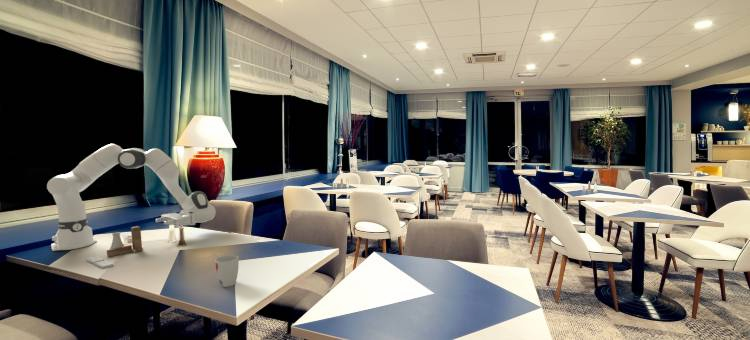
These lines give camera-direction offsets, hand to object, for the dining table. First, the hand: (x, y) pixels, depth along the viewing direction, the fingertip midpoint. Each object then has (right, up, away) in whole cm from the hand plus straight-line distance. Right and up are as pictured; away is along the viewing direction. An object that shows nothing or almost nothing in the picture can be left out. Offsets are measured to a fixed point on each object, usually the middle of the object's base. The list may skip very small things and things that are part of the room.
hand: (160, 221), depth 188 cm
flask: (-15, -14, -10) cm, 23 cm away
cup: (+58, -16, -53) cm, 80 cm away
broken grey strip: (-12, -15, -26) cm, 32 cm away
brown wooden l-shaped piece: (-16, -13, -8) cm, 22 cm away
